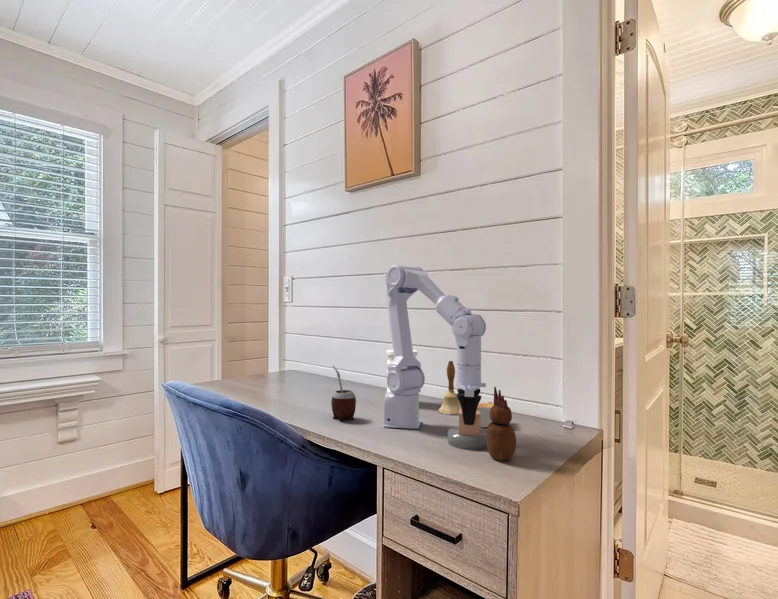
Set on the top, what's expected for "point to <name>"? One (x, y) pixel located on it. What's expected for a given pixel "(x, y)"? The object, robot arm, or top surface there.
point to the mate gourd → (343, 403)
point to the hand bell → (450, 394)
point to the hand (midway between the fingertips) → (468, 421)
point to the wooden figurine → (500, 430)
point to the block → (470, 429)
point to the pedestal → (467, 439)
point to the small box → (484, 412)
